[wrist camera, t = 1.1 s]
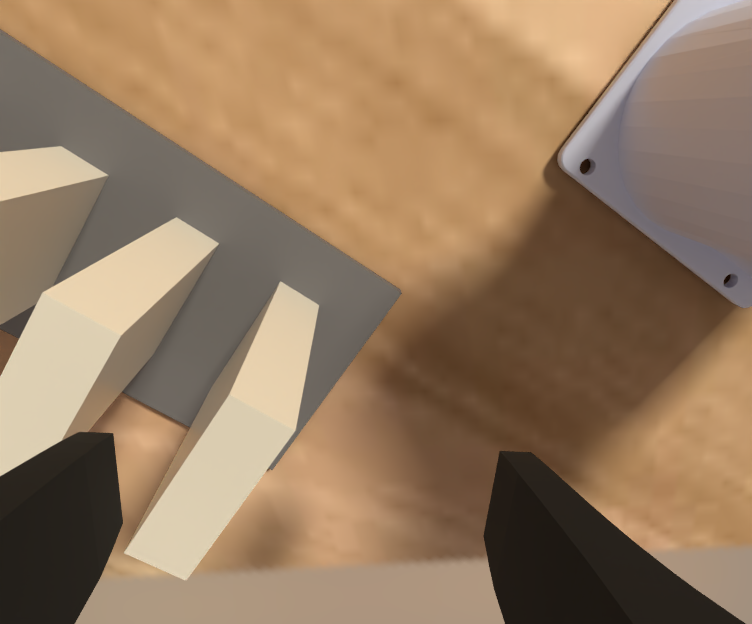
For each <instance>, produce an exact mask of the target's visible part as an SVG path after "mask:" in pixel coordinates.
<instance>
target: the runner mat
mask: <svg viewBox="0 0 752 624" xmlns="http://www.w3.org/2000/svg"><path fill="white" fill-rule="evenodd" d="M57 146H62V147H63V148H65V149H67V150H68V151H70V152H71V153H73V154H75V155H76V156H78V157H80V158H81V159H83V160H84V161H86V162H88V163H89V164H91V165H93V166H94V167H96V168H97V169H99V170H101V171H102V172H104V173H105V174H107V175H109V176H108V178H107V180H106V182H105V184H104V186H103V188H102V190H101V192H100V194H99V196H98V198H97V200H96V202H95V204H94V206H93V208H92V209H91V211H90V213H89V215H88V217H87V219H86V221H85V223H84V225H83V227H82V229H81V231H80V233H79V235H78V237H77V239H76V241H75V243H74V245H73V247H72V249H71V251H70V253H69V255H68V257H67V259H66V261H65V263H64V265H63V267H62V269H61V271H60V273H59V275H58V277H57V279H56V281H55V283H54V285H53V286H55V285H57V284H59V283H60V282H62V281H64V280H66V279H67V278H69V277H71V276H73V275H75V274H76V273H78V272H80V271H82V270H83V269H85V268H87V267H89V266H91V265H92V264H94V263H96V262H98V261H99V260H101V259H103V258H105V257H107V256H108V255H110V254H112V253H114V252H115V251H117V250H119V249H121V248H123V247H124V246H126V245H128V244H130V243H131V242H133V241H135V240H137V239H139V238H140V237H142V236H144V235H146V234H147V233H149V232H151V231H153V230H155V229H156V228H158V227H160V226H162V225H163V224H165V223H167V222H169V221H171V220H172V219H174V218H176V217H177V218H179V219H180V220H182V221H183V222H185V223H187V224H188V225H190V226H192V227H193V228H195V229H196V230H198V231H200V232H201V233H203V234H205V235H206V236H208V237H209V238H211V239H213V240H214V241H216V242H217V243H219V245H218V247H217V248H216V250H215V252H214V253H213V255H212V257H211V258H210V260H209V262H208V263H207V265H206V267H205V268H204V270H203V272H202V273H201V275H200V277H199V278H198V280H197V282H196V284H195V285H194V287H193V289H192V290H191V292H190V294H189V295H188V297H187V299H186V300H185V302H184V304H183V305H182V307H181V309H180V310H179V312H178V314H177V315H176V317H175V319H174V320H173V322H172V324H171V325H170V327H169V329H168V330H167V332H166V334H165V336H164V337H163V339H162V341H161V342H160V344H159V346H158V347H157V349H156V351H155V352H154V354H153V356H152V357H151V358H150V359H149V360H148V361H147V363H146V364H145V365H144V366H143V367H142V368H141V370H140V371H139V372H138V373H137V374H136V376H135V377H134V378H133V379H132V380H131V381H130V383H129V384H128V385H127V386H126V387H125V389H124V390H123V391H122V392H123V393H125V394H127V395H128V396H130V397H132V398H134V399H136V400H138V401H140V402H142V403H144V404H146V405H148V406H150V407H152V408H153V409H155V410H157V411H159V412H161V413H163V414H165V415H167V416H169V417H171V418H173V419H175V420H177V421H178V422H180V423H182V424H184V425H186V426H188V427H191V425H192V423H193V421H194V419H195V418H196V416H197V414H198V412H199V410H200V408H201V406H202V404H203V402H204V401H205V399H206V397H207V395H208V393H209V391H210V389H211V387H212V386H213V384H214V383H215V381H216V380H217V378H218V377H219V375H220V373H221V372H222V370H223V369H224V367H225V366H226V364H227V363H228V361H229V360H230V358H231V357H232V355H233V353H234V352H235V350H236V349H237V347H238V346H239V344H240V343H241V341H242V340H243V338H244V337H245V335H246V333H247V332H248V330H249V329H250V327H251V326H252V324H253V323H254V321H255V320H256V318H257V317H258V315H259V313H260V312H261V310H262V309H263V307H264V306H265V304H266V303H267V301H268V300H269V298H270V297H271V295H272V293H273V292H274V290H275V289H276V287H277V286H278V284H279V283H280V281H281V282H282V283H284V284H286V285H287V286H289V287H291V288H292V289H294V290H295V291H297V292H299V293H300V294H302V295H304V296H305V297H307V298H308V299H310V300H312V301H313V302H315V303H317V304H318V305H319V309H318V314H317V319H316V325H315V330H314V335H313V341H312V346H311V351H310V356H309V362H308V367H307V372H306V378H305V383H304V388H303V394H302V399H301V404H300V409H299V415H298V420H297V425H296V431H295V432H294V433H293V435H292V436H291V437H290V439H289V440H288V442H287V443H286V444H285V446H284V447H283V448H282V450H281V451H280V453H279V454H278V455H277V457H276V458H275V459H274V461H273V462H272V464H271V465H270V466H269V469H271V470H273V468H274V467H275V466H276V464H277V463H278V462H279V460H280V459H281V457H282V456H283V455H284V453H285V452H286V451H287V449H288V448H289V447H290V445H291V444H292V442H293V441H294V440H295V438H296V437H297V436H298V434H299V433H300V432H301V430H302V429H303V427H304V426H305V425H306V423H307V422H308V421H309V419H310V418H311V416H312V415H313V414H314V412H315V411H316V410H317V408H318V407H319V406H320V404H321V403H322V401H323V400H324V399H325V397H326V396H327V395H328V393H329V392H330V391H331V389H332V388H333V386H334V385H335V384H336V382H337V381H338V380H339V378H340V377H341V376H342V374H343V373H344V371H345V370H346V369H347V367H348V366H349V365H350V363H351V362H352V361H353V359H354V358H355V356H356V355H357V354H358V352H359V351H360V350H361V348H362V347H363V346H364V344H365V343H366V341H367V340H368V339H369V337H370V336H371V335H372V333H373V332H374V331H375V329H376V328H377V326H378V325H379V324H380V322H381V321H382V320H383V318H384V317H385V316H386V314H387V313H388V311H389V310H390V309H391V307H392V306H393V305H394V303H395V302H396V301H397V299H398V298H399V296H400V295H401V294H402V293H401V290H400V289H399V288H397V287H395V286H394V285H392V284H391V283H389V282H388V281H386V280H385V279H383V278H382V277H380V276H379V275H377V274H375V273H374V272H372V271H371V270H369V269H368V268H366V267H365V266H363V265H362V264H360V263H359V262H357V261H356V260H354V259H352V258H351V257H349V256H348V255H346V254H345V253H343V252H342V251H340V250H339V249H337V248H336V247H334V246H332V245H331V244H329V243H328V242H326V241H325V240H323V239H322V238H320V237H319V236H317V235H316V234H314V233H312V232H311V231H309V230H308V229H306V228H305V227H303V226H302V225H300V224H299V223H297V222H296V221H294V220H293V219H291V218H289V217H288V216H286V215H285V214H283V213H282V212H280V211H279V210H277V209H276V208H274V207H273V206H271V205H269V204H268V203H266V202H265V201H263V200H262V199H260V198H259V197H257V196H256V195H254V194H253V193H251V192H249V191H248V190H246V189H245V188H243V187H242V186H240V185H239V184H237V183H236V182H234V181H233V180H231V179H230V178H228V177H226V176H225V175H223V174H222V173H220V172H219V171H217V170H216V169H214V168H213V167H211V166H210V165H208V164H206V163H205V162H203V161H202V160H200V159H199V158H197V157H196V156H194V155H193V154H191V153H190V152H188V151H186V150H185V149H183V148H182V147H180V146H179V145H177V144H176V143H174V142H173V141H171V140H170V139H168V138H167V137H165V136H163V135H162V134H160V133H159V132H157V131H156V130H154V129H153V128H151V127H150V126H148V125H147V124H145V123H143V122H142V121H140V120H139V119H137V118H136V117H134V116H133V115H131V114H130V113H128V112H127V111H125V110H123V109H122V108H120V107H119V106H117V105H116V104H114V103H113V102H111V101H110V100H108V99H107V98H105V97H104V96H102V95H100V94H99V93H97V92H96V91H94V90H93V89H91V88H90V87H88V86H87V85H85V84H84V83H82V82H80V81H79V80H77V79H76V78H74V77H73V76H71V75H70V74H68V73H67V72H65V71H64V70H62V69H61V68H59V67H57V66H56V65H54V64H53V63H51V62H50V61H48V60H47V59H45V58H44V57H42V56H41V55H39V54H37V53H36V52H34V51H33V50H31V49H30V48H28V47H27V46H25V45H24V44H22V43H21V42H19V41H17V40H16V39H14V38H13V37H11V36H10V35H8V34H7V33H5V32H4V31H2V30H1V29H0V152H7V151H17V150H27V149H37V148H47V147H57ZM35 306H36V304H35V305H33V306H32V307H30V308H28V309H27V310H25V311H23V312H22V313H20V314H18V315H16V316H15V317H13V318H11V319H10V320H8V321H6V322H5V323H3V324H1V325H0V329H1V330H3V331H5V332H7V333H9V334H11V335H13V336H15V337H17V338H20V336H21V334H22V332H23V330H24V328H25V326H26V324H27V322H28V320H29V318H30V316H31V314H32V312H33V310H34V308H35Z"/></svg>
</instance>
